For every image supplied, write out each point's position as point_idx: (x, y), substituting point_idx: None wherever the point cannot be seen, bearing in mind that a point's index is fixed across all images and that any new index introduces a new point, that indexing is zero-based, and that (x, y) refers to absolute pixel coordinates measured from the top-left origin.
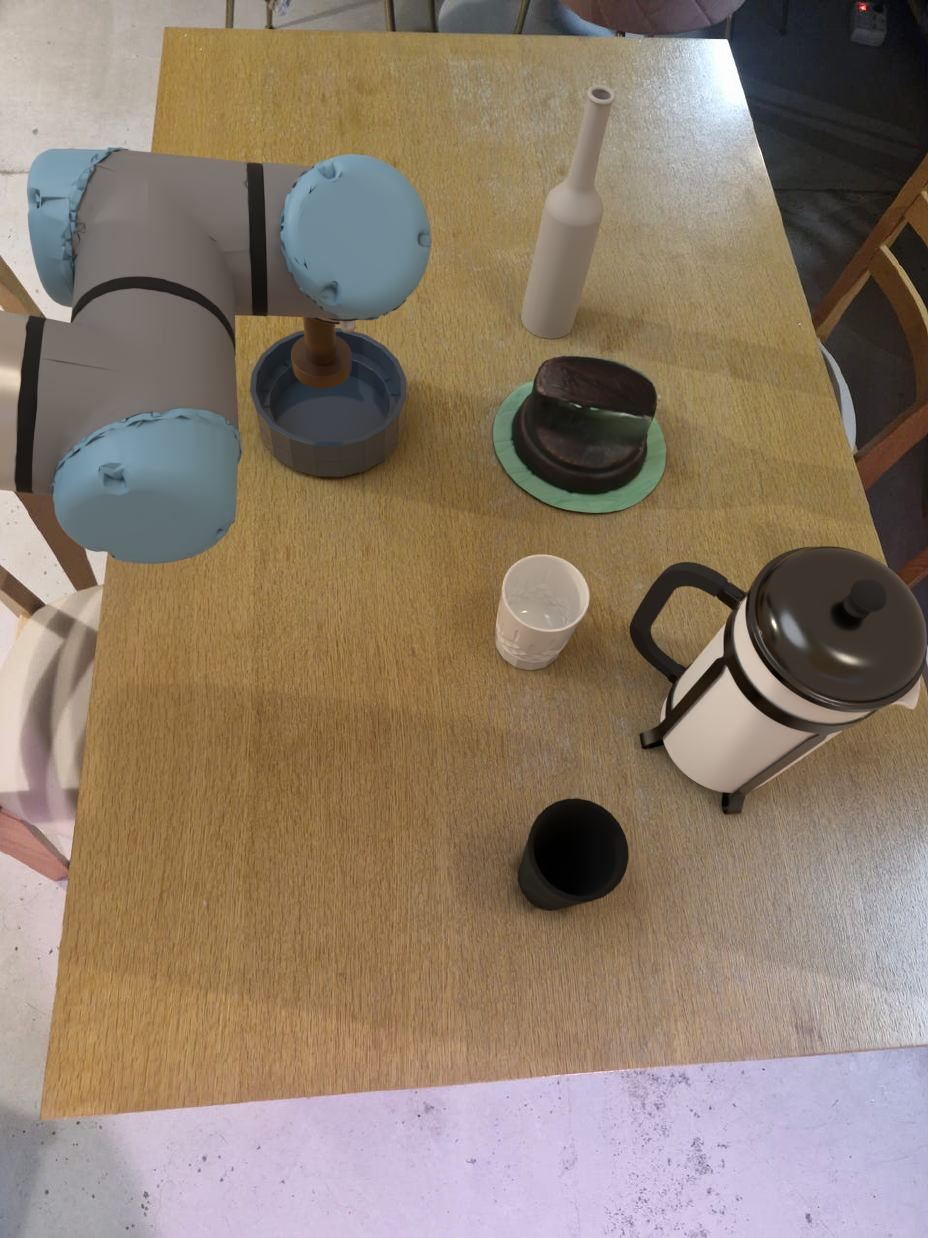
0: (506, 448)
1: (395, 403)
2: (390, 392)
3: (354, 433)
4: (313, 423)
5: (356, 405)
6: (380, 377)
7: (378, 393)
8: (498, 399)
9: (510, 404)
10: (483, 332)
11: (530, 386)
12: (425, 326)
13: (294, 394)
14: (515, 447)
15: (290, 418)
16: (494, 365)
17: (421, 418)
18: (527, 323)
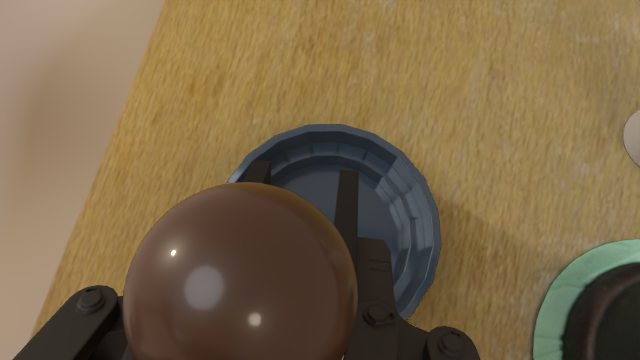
0: (549, 352)
1: (414, 262)
2: (412, 241)
3: None
4: None
5: (363, 228)
6: (405, 211)
7: (397, 215)
8: (558, 260)
9: (573, 276)
10: (564, 143)
11: (610, 251)
12: (488, 115)
13: (290, 190)
14: (564, 358)
15: None
16: (566, 201)
17: (444, 264)
18: (633, 147)
